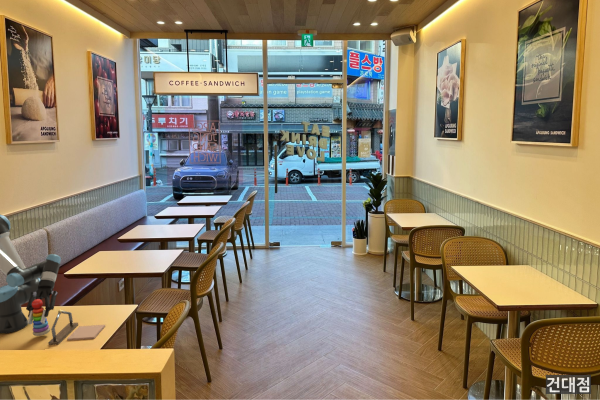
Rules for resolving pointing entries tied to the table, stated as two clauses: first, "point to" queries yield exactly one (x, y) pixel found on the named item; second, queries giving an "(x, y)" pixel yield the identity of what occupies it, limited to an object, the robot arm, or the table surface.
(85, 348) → the table surface
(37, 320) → the stacking toy
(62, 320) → the table surface
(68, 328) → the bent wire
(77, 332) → the terracotta pad
